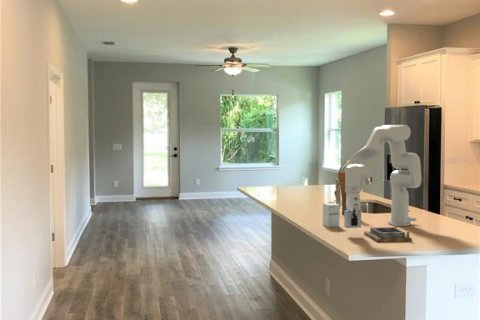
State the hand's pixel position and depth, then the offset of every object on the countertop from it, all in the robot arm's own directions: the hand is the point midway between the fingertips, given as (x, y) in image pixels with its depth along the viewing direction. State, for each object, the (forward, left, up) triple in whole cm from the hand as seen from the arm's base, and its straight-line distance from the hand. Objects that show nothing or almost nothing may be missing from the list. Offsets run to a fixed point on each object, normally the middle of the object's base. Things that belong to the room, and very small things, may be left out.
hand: (352, 224), depth 254 cm
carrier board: (-16, +5, -6) cm, 19 cm away
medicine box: (0, 0, -2) cm, 2 cm away
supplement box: (+4, -28, -7) cm, 29 cm away
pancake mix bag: (-16, -60, -7) cm, 62 cm away
